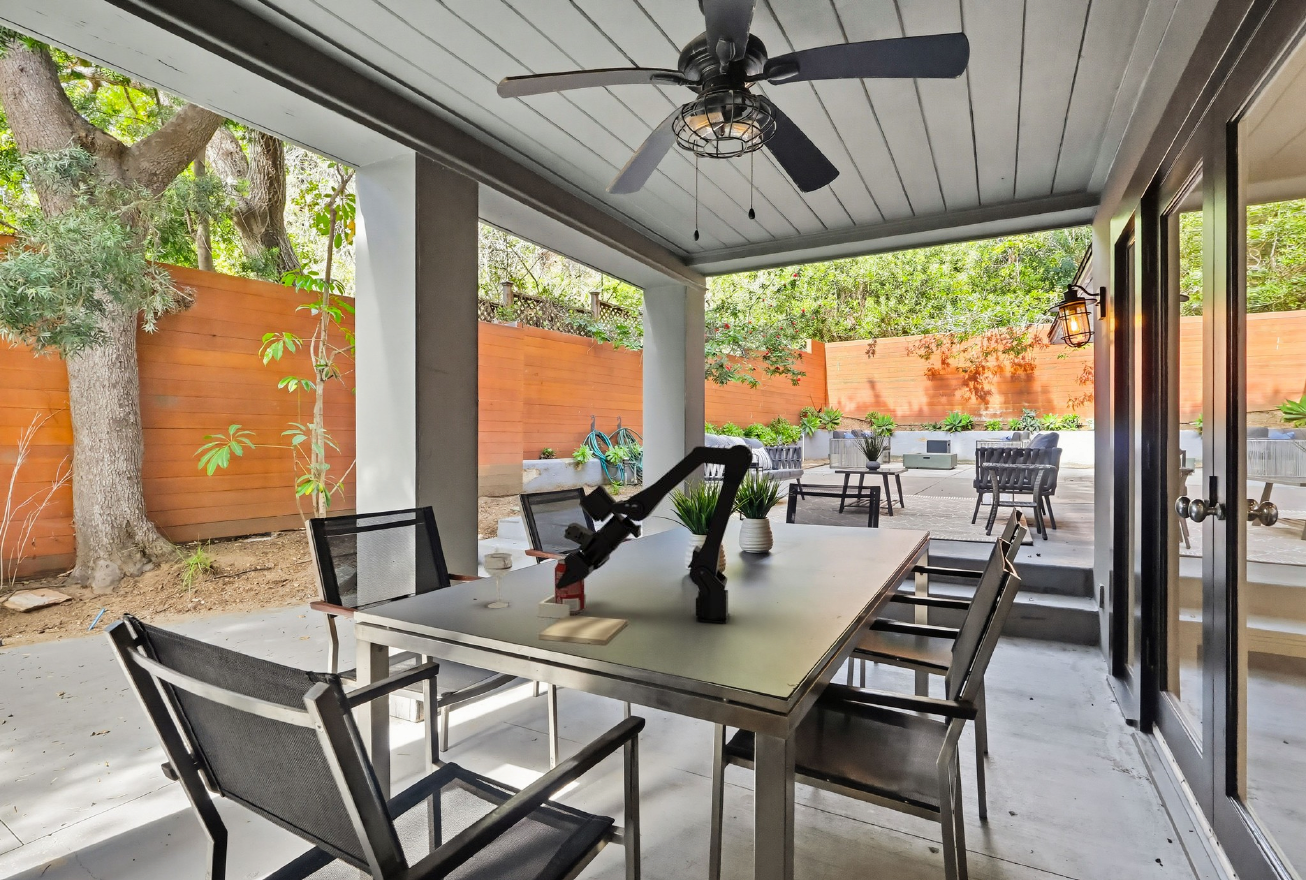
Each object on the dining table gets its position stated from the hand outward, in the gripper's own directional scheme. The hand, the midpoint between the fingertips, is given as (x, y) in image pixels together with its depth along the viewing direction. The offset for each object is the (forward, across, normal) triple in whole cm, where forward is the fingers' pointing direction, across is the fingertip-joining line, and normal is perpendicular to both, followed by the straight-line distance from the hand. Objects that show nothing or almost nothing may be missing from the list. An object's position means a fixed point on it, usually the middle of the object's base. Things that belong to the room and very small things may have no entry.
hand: (563, 583), depth 146 cm
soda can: (+4, 0, +6) cm, 7 cm away
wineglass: (+17, -3, -8) cm, 19 cm away
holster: (+5, 0, +4) cm, 7 cm away
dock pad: (-2, +14, +11) cm, 18 cm away
